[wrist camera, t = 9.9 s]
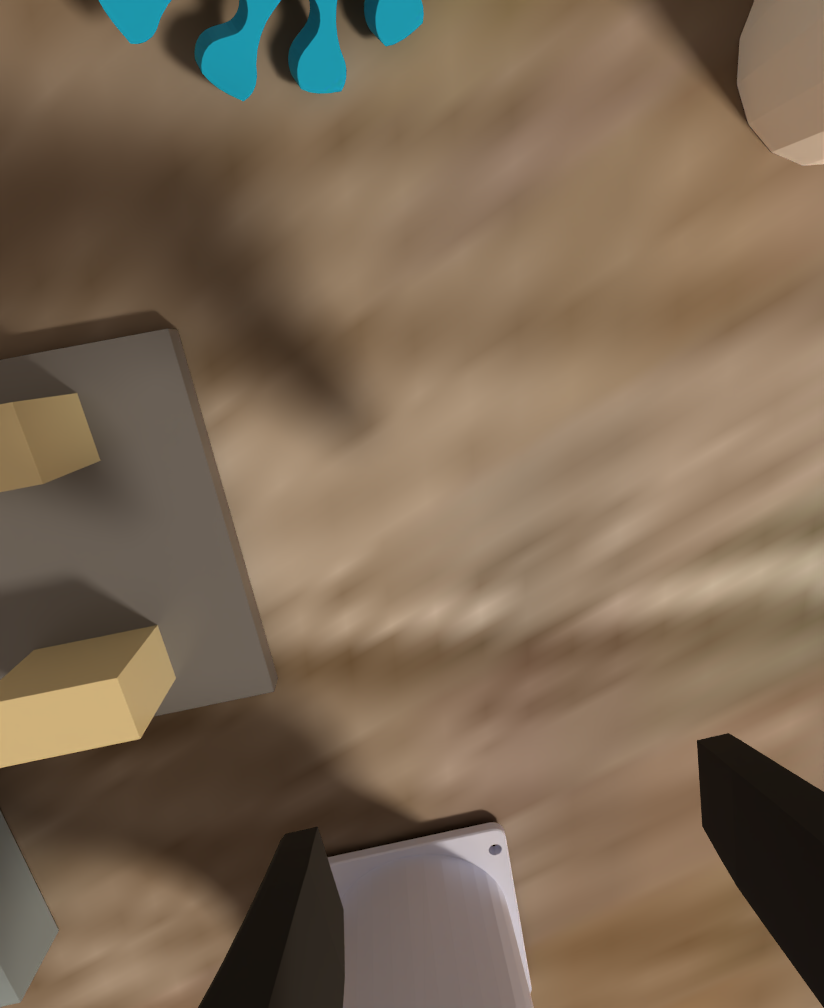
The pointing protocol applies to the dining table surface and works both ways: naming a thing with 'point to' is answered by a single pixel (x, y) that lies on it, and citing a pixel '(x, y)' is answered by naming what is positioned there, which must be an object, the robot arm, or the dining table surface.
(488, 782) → the dining table surface
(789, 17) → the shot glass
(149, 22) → the gear
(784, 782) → the robot arm
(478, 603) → the dining table surface
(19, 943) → the parts tray
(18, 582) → the panel
